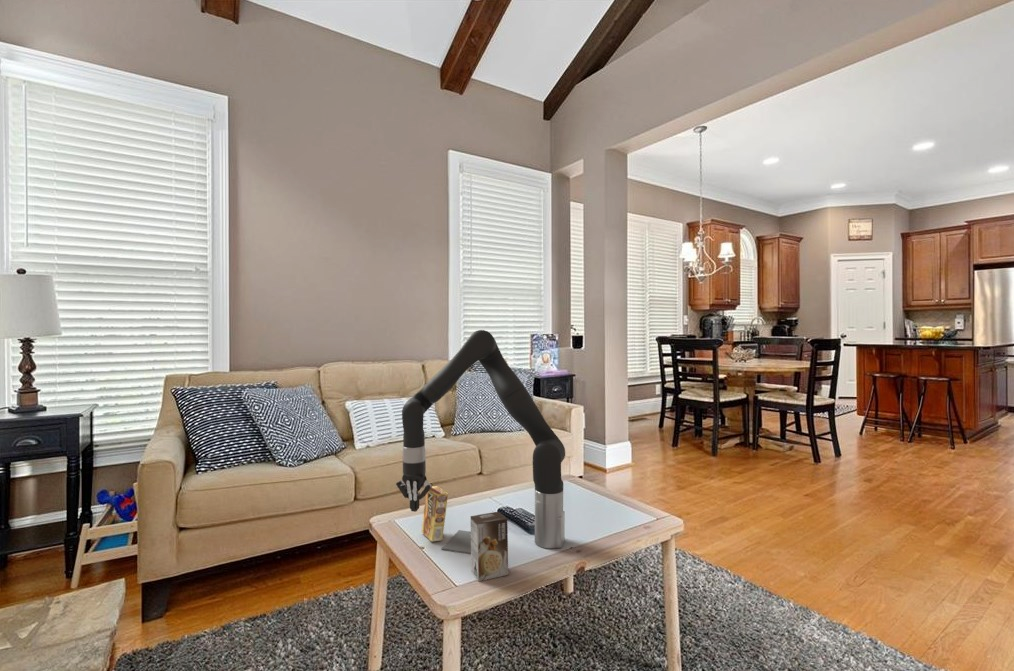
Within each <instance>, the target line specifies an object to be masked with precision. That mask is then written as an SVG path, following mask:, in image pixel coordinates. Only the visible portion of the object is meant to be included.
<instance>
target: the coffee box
mask: <svg viewBox="0 0 1014 671" xmlns="http://www.w3.org/2000/svg"><path fill="white" fill-rule="evenodd" d="M470 532H471V554H470V572H471V573H472V575H473V576H474V577H475V579H476V580H477V581H478V582H483V581H486V580H487V579H488V580H491V579H495V578H500V577H504V576H508V575H509V550H508V549H509V541H508V540H509V539H508V535H509V534H508V518H507V517H506V516H505V515H504V514H503V513H501V512H500V511H492V512H488V513H482V514H477V515H471V516H470ZM482 580H483V581H482Z"/></svg>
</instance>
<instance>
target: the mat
mask: <svg viewBox="0 0 1014 671" xmlns="http://www.w3.org/2000/svg"><path fill="white" fill-rule="evenodd" d="M440 550H441V551H446V552H452V553H453V552H454V553H461V554H467V555H471V530H470V531H469V530H462V529H459V530H457V532H455V533H454V535H453V536H451V538H449V540H448V541H447V542H446V543H445V544H444V545H443V546H442V547H441V549H440Z"/></svg>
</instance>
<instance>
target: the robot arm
mask: <svg viewBox="0 0 1014 671" xmlns="http://www.w3.org/2000/svg"><path fill="white" fill-rule="evenodd" d="M477 362H479V363H480V364H481V366H482V367H483V368H484V370H485V372H486V373H487V375H488V376H489V378H490V380H491V384H492V386H493V388H494V390H495V393H496V394H497V396H498V398H499V400H500V401H501V403H502V405H503V406H504V408H505V409H506V411H507V413H508V414H509V415H510V416H511V418H513V420H514V421H516V422H517V423H518V424H519V425H520V427H522V428H523V429H524V430H525V431H526V432H527V433H528V434H529V436H530V438H531V440H532V442H533V443H534V445H535V447H534V450H533V452H532V479H533V480H532V481H533V483H534V543H535V545H537V546H538V547H540V548H543V549H557V548H558V549H562V547H563V544H564V542H565V540H566V539H565V538H566V537H565V532H566V531H565V529H566V528H565V523H566V522H565V521H566V520H565V519H566V516H565V511H564V481H563V480H562V463H563V462H564V460H565V459H566V458H565V457H566V448H565V445H564V443H563V442H562V441H561V439H560V438H559V437H558V435H557V434H556V433H555V432H554V431H553V429H552V428H551V426H549V424H548V422H547V421H546V420H545V417H544V416H543V414H542V413H541V411H540V409H539V407H538V406H537V404H536V403H535V401H534V399H533V397H532V395H530V393H529V391H528V389H527V388H526V387H525V385H524V383H523V382H522V380H520V377H518V375H517V374H516V373H515V372H514V371H513V370H512V368H511V367H510V366H509V364H508V363H507V361H506V360H505V358H504V356H503V354H502V352H501V351H500V348H499V346H498V343H497V341H496V338H494V336H493V335H492V333H491V332H490V331H488V330H485V329H479V330H475V331H474V332H473V333H471V335H469V337H468V339H466V341H465V342H464V343H463V345H462V346H461V348H460V349H459V350H458V352H456V354H455V355H454V356H453V357H452V358H451V359H450V360H449V361H448V362H447V363H446V364H445V365H444V366H443V367H442V368H441V369H440V370H439V371H438V372H437V373H435V375H434V376H432V377H431V379H429V380H428V381H427V382H426V383H425V384H424V385H423V386H422V388H421V389H419V391H418V392H416V393H415V394H414V395H412V396H411V397H410V398H409V399H408V400H407V401H406V402H405V404H404V405H403V407H402V410H401V419H402V429H403V436H402V437H403V440H402V441H403V443H402V444H403V447H402V477H401V480H399V481H398V482H396V483H395V485H396V486H397V488H398V489H399V492H400V493H401V494H402V496H403V497H404V498H405V499H408V500H409V509H410V510H411V512H415V513H416V512H418V510H419V509H420V500H422V499H424V498H426V494H427V493H428V491H429V490H430V489H431V487H432V486H433V484H434V483H432V482H431V483H430V482H429V481H428V480H427V476H426V473H427V472H426V470H427V469H426V466H427V465H426V460H427V459H426V458H427V457H426V456H427V455H426V447H425V443H426V440H425V437H426V436H425V430H424V414H426V412H427V411H428V410H429V409H430V408H431V407H432V406H433V405H434V404H436V403H437V402H438V401H440V400H441V399H442V398H443V397H444V396H445V395H446V394H447V393H448V392H450V391H451V389H452V388H453V387H454V386H455V385H456V384H457V383H458V381H459V380H460V378H461V377H462V376H463V375H464V373H465V372H466V371H467V370H469V369H470V367H472V366H473V365H474V364H475V363H477ZM422 487H423V490H422Z"/></svg>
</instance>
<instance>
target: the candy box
mask: <svg viewBox="0 0 1014 671" xmlns="http://www.w3.org/2000/svg"><path fill="white" fill-rule="evenodd" d="M448 496H449V493H448V492H447V491H445V490H443V489H442V488H441V487H439V486H432V487H431V489H430V490H429V491H428V493H427V494H426V495H425V497H424V500H425V501H424V508H423V514H422V515H423V516H422V521H421V522H422V524H421V533H422V535H424V536H425V537H426V538H427V539H428V540H429V541H430V542H438V541H439V542H440V541H443V538H444V537H443V536H444V530H445V523H446V522H445V520H446V513H447V504H448Z"/></svg>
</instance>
